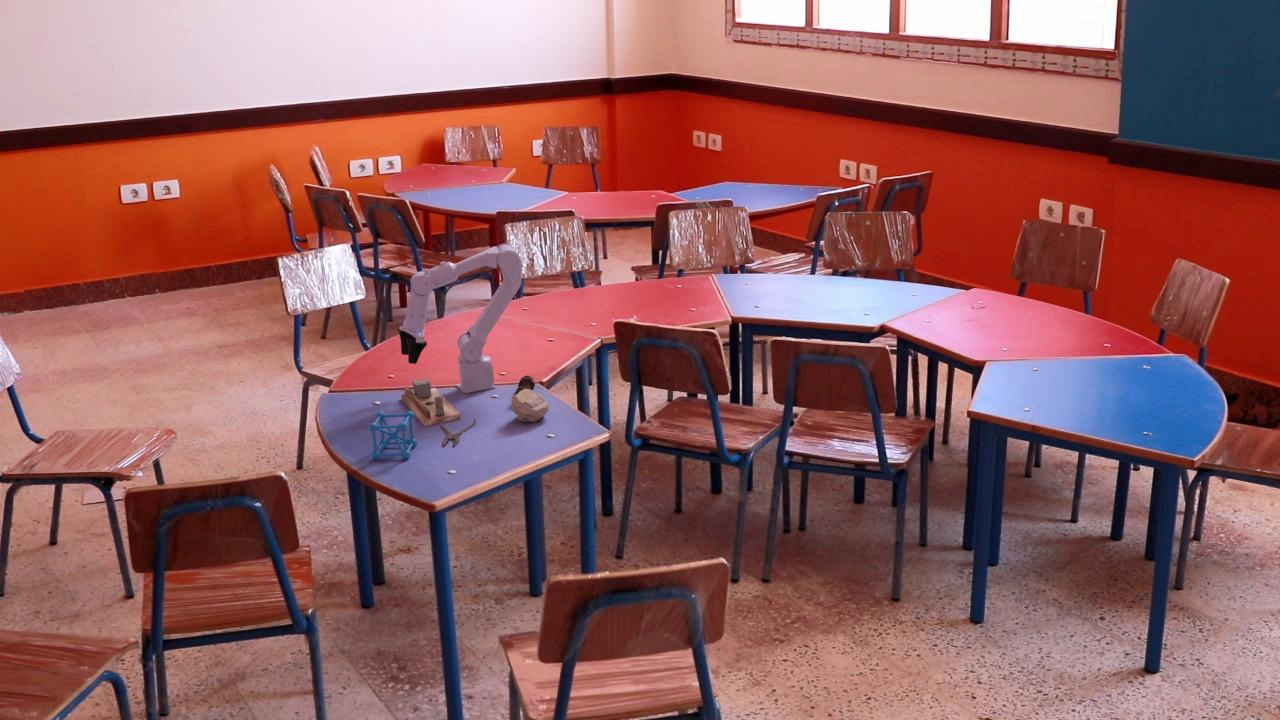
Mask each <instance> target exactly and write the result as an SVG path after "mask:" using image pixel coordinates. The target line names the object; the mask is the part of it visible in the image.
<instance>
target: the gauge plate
mask: <svg viewBox="0 0 1280 720" xmlns="http://www.w3.org/2000/svg"><path fill="white" fill-rule="evenodd" d="M400 396H401V397H400V398H401V400H402V401H403V402H404V403H405V405H406V406H407V407H408V408H409V409H410V411H412V412H413V413H414V416H416V417H417V418H418V420H419V419H420V420H419V421H420V422H421V423H422V424H423V426H425V427H427V426H431V425H438V424H441V423H442V421H444V423H447V422H452V421H456V420H460V419H461V414H460V412H459V411H458V410H457V409H456V408H455V407H454V406H453V405H452V404H451V403H450V401H448V400H447V399H446V397H444V395H443V394H441V392H439V390H438V389H436V387H433V388H432V387H431V396H429V397H424V398H417V397H416V395H415V394H414V391H412V390H411V388H409V387H408V386H405V387H404V393H401V394H400Z"/></svg>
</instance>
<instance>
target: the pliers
mask: <svg viewBox="0 0 1280 720" xmlns="http://www.w3.org/2000/svg"><path fill="white" fill-rule="evenodd" d="M444 424H445V422H444V421H442V423H440V428H441V430H443V431H444V432H445V434H446V436H445V437H444V439H443V441H442V446H443V448H445V447H446V446H447V444H449V441H452V442H453V448H454V447H456V446H457V445H458V444H459V443H460V437H461V435H462V434H464V433H465V432H467V431H468V430H470V429H472V428H473V427H475V425H476V424H477V418H476V417H474V418H473V422H472V423H471V425H469V426H467V427H465V428H463V429H462V430H460V431H458V432H457V433H456V432H455V433H453V432H451V431H450V430H449V429H448V428H446V427H445V426H444ZM466 430H467V431H466ZM463 432H464V433H463ZM459 436H460V437H459Z"/></svg>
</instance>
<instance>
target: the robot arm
mask: <svg viewBox="0 0 1280 720" xmlns="http://www.w3.org/2000/svg"><path fill="white" fill-rule="evenodd" d="M483 267H489V268H493V269H497V268H498V267H499V268H500V272H501V275H502V281H501V283H500V284H499V286H498V287H497V290H495V292H494V294H492V297H491V298H490V299H489V301H488V303H487V304H486V306H485V307H484V308H483V310H482V312H481V313H480V315H479V317H477V320H476V321H475V322H474V324H473V325H471V326H470V327H468V329H467V331H466V332H464V333H462V334H461V335H460V336H459V337H458V339H457V347H458V349H459V353H460V355H459V356H458V358H457V359H458V370H459V379H460V383H456V387H457V388H458V389H459V390H461V392H462V393H463V394H469V393H474V392H479V391H485V390H489V389H495V388H496V386H495V375H494V368H493V367H494V366H493V363H492V362H493V360H492V359H491V357H490V356H489V355H483V349H484V347H485V345H486V344H487V341H488V337H489V335H490V333H491V331H492V330H493V328H494V327H495V325H496V324H497V322H498V321H499V319H500V318H501V316H502V315H503V313H504V312H505V310H506V309H507V307H508V306H509V304H510V303H511V301H512V300H513V298H514V296H515V295H516V294H517V292H518V291H519V289H520V288H521V286H522V282H523V281H522V280H523V279H522V276H523V275H522V271H523V269H522V268H523V262H522V261H521V257H520V255H519V254H518V253H517V251H516V249H515V247H514V246H513V245H511V244H509V243H501V244H498V246H495V245H494V246H492V247H490V248H487V249H485V250H483V251H481V252H478V253H476V254H474V255H472V256H469V257H467V258H464V259H463V260H460V261H459V262H458V261H457V263H456V262H455V263H452V262H451V261H447V262H445V261H441V262H439V265H437V266H433V267H431V268H425V269H424V271H422V270H421V271H417V272H415V273H413V275H412V276H411V278H410V280H409V281H410V282H409V283H410V286H411V288H410V291H409V296H408V301H407V307H406V312H405V313H406V314H405V318H404V320H403V324H402V326H399V329H398V330H397V331H398V335H399V339H400V352H401V355H405V356H408V358H407V359H408V364H410V365H411V364H413V365H416V364H417V363H418V360H419V358H420V356H421V354H422V352H423V350H424V349H425V348H426V347H427V345H428V342H427V341H426V340H425V332H426V331H425V327H426V326H425V325H426V320H427V315H428V308H429V302H430V294H431V293H432V292H433V290H434V289H438V288H441V287H443V286H446V285H448V284H450V283H454V282H456V281H457V280H458V278H459V276H460V275H462V274H463V275H464V274H466V273H468V272H470V271H471V272H472V271H474V270H477V269H480V268H483Z"/></svg>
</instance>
